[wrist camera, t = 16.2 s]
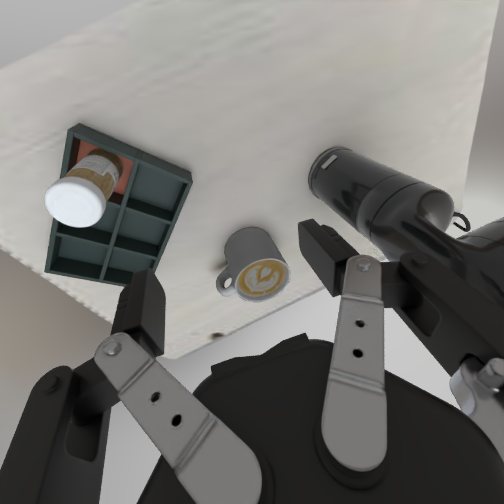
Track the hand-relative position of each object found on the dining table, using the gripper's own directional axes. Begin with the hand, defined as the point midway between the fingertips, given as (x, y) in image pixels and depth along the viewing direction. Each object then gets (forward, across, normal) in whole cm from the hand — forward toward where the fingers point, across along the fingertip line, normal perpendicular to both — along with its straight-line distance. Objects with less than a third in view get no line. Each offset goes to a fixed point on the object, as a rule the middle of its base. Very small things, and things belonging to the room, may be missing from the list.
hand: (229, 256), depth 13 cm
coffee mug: (+28, -3, +22) cm, 36 cm away
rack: (+28, +14, +8) cm, 32 cm away
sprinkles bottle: (+27, +12, 0) cm, 30 cm away
